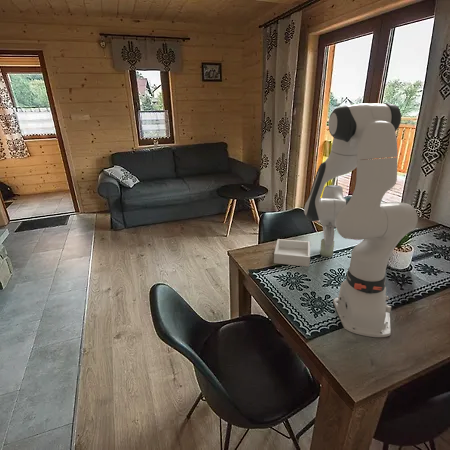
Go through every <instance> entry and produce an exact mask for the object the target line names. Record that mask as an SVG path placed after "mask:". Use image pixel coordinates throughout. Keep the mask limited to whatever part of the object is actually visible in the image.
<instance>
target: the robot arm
mask: <svg viewBox="0 0 450 450" xmlns="http://www.w3.org/2000/svg"><path fill="white" fill-rule="evenodd" d="M401 121H402V113H401V110H400V107H399V106H398V105H396V104H393V103H388V102H384V103H357V104H352V105H342V106H338V107H336V108H334V109H333V111H332V112H331V113H330V116H329V118H328V131H329V134H330V136H331V137H332V138H333V139H332V144H331V147H330V148H331V150H330V153H329V155H328V158H326V160H325V161H323V162H321V163H320V165H319V166H318V169H317V171H316V174H315V177H314V180H313V183H312V184H311V189H310V192H309V195H308V197H307V199H306V201H305V205H304V209H303V213H304V216H305V217H306V218H307V219H308V220H309V221H311V222H319V224H321V226H322V231H323V239H324V242H325V250H329V248H330V246H332V245H333V242H334V243H335V241H334V240H335V229H336V230H337V231H336V232H337V233H338V234H339V235H340V237H341V238H343V239H346V240H356V241H358V240H359V241H360V242H359V243H358V244H356V245H355V246H353V249H352V250H351V253H350V254H351V256H350V261H349V267H348V268H347V272H346V278H345V280H344V281H342V282H341V283H340V287H339V293H338V297H335V298H333V299H332V302H333V305H334V308H335V310H336V312H337V314H338V317H339V319H340V321H341V324H342V327H343V328H344V329H345V330H346V331H348V332H350V333H353V334H356V335H360V336H364V337H365V336H366V337H369V338H370V337H371V338H372V337H373V338H386V337H390V336H391V331H392V329H391V312H392V306H391V305H388V303H387V301H389V299H390V297H389V296H388V295H386V293H387V287H386V282H387V280H386V278H387V276H386V271H387V266H388V263H389V259H390V257H391V254H392V253H393V251H394V249H395V248H396V247H397V245H398V243H400V242H401V240H402V239H403V238H405V236H406V235H408V234H409V233H410V232H412V231H413V230H414V229H416V226H417V224H418V220H419V219H418V218H419V217H418V213H417V210H416V208H415V207H414V206H412V205H411V204H409V203H406V202H401V201H389V202H388V201H387V202H382V201H383V198H384V196H385V194H387V192H389V190H391V189H393V188H394V187H395V186H396V183H397V182H398V140H397V134H396V133H397V130H398V129H399V127H400V125H401ZM355 169H356V177H355V187H354V190H353V193H352V194H351V197H350V199H349V200H348V199H347V198H345V197H344V195H343V194H344V193H343V192H344V191H343V189H344V188H343V186H341V185H335V184H334V185H331V184H328V185H326V184H327V183H328V182H329V181H331V180H333V179H335V178H337V177H340V176H344V175H347V174H349V173H351V172H352V171H354V170H355ZM361 240H362V241H361Z"/></svg>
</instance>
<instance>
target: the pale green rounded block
mask: <svg viewBox="0 0 450 450" xmlns="http://www.w3.org/2000/svg"><path fill="white" fill-rule="evenodd" d="M334 248H335V241H334V242H333V245H332V246H330V248H329V250H325V242H324V238H322V239H321V240H320V249H319V254H320V256H322V257H326V258H330V257H333V255H334Z"/></svg>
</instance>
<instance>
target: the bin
mask: <svg viewBox="0 0 450 450" xmlns="http://www.w3.org/2000/svg"><path fill="white" fill-rule="evenodd" d="M310 261H311V241H309V240H298V239H297V240H296V239H294V240H293V239H284V238H281V239H280V238H277V241H276V245H275V248H274V252H273V264H278V265H290V266H300V267H307V268H309V267H310V264H311V263H310Z"/></svg>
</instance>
